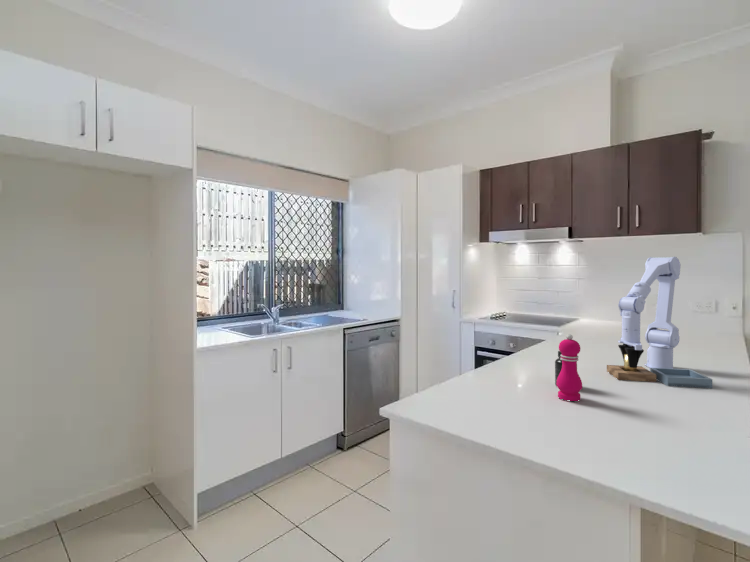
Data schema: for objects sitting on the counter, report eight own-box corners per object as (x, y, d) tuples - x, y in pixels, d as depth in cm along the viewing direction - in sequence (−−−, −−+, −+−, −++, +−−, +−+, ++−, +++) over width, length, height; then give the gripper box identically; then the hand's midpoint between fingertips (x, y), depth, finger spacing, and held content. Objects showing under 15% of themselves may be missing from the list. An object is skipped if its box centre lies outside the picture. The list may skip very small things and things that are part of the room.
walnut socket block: (606, 371, 153) (606, 364, 153) (641, 372, 150) (641, 366, 150) (618, 379, 141) (618, 373, 141) (656, 381, 139) (656, 374, 139)
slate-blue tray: (650, 375, 147) (650, 367, 146) (690, 377, 144) (690, 369, 143) (667, 385, 134) (667, 377, 134) (712, 388, 131) (712, 379, 131)
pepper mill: (585, 403, 118) (586, 336, 117) (559, 401, 119) (559, 336, 119) (578, 395, 125) (578, 332, 124) (553, 394, 126) (554, 332, 126)
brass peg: (622, 374, 148) (622, 353, 148) (634, 375, 147) (634, 353, 147) (626, 377, 144) (626, 355, 144) (638, 378, 143) (638, 356, 143)
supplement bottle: (572, 383, 137) (572, 349, 137) (580, 389, 131) (580, 353, 130) (551, 383, 138) (552, 349, 138) (559, 389, 131) (559, 353, 131)
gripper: (611, 326, 153) (611, 360, 154) (626, 332, 139) (625, 370, 140) (632, 326, 152) (631, 361, 152) (649, 332, 137) (648, 371, 138)
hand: (630, 365), depth 146 cm, fingers closed on brass peg, 4 cm apart
